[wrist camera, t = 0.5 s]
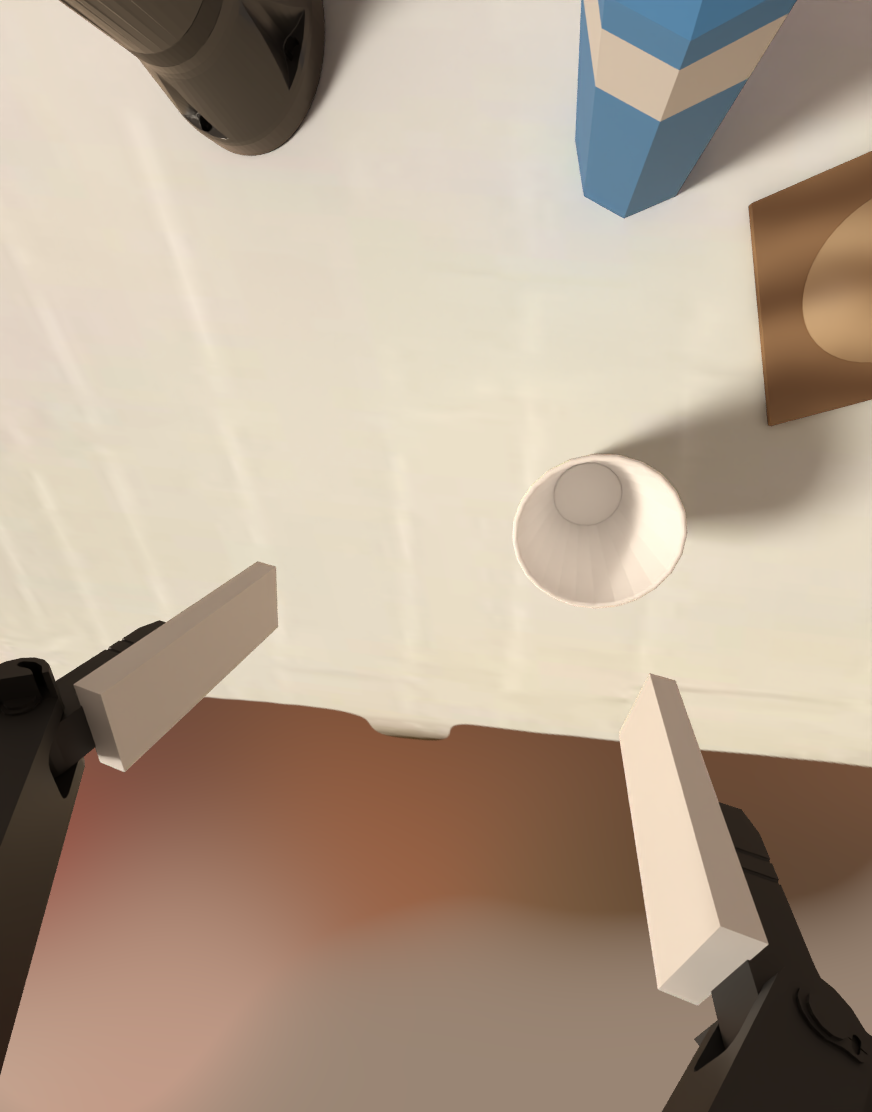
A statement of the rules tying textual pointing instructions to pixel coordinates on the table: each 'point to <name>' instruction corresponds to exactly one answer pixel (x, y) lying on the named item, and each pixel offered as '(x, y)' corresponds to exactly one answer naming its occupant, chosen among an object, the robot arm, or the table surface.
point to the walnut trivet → (815, 291)
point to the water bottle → (660, 89)
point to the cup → (599, 530)
